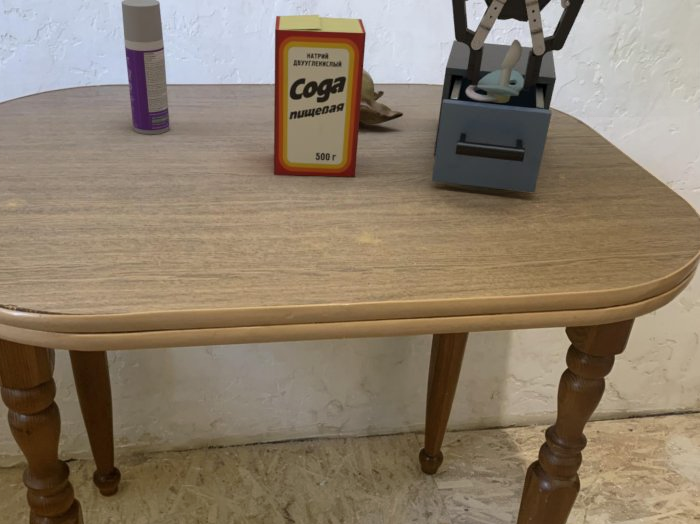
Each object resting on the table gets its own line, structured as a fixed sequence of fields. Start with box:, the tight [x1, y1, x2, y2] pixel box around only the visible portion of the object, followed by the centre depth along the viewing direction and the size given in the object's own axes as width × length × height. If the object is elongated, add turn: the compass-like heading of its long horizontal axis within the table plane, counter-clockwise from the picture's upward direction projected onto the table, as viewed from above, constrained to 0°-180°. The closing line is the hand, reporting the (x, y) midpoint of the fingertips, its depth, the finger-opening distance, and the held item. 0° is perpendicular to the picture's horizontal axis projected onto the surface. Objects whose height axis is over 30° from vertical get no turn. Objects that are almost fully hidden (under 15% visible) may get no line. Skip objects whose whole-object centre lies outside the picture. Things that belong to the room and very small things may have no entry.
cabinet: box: [433, 39, 557, 157], centre depth 98 cm, size 14×13×11 cm
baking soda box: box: [273, 14, 367, 178], centre depth 88 cm, size 10×6×16 cm
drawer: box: [431, 75, 553, 194], centre depth 87 cm, size 17×11×9 cm
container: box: [121, 0, 170, 135], centre depth 96 cm, size 5×5×15 cm
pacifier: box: [466, 39, 524, 103], centre depth 84 cm, size 7×6×6 cm
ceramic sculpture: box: [359, 68, 404, 125], centre depth 103 cm, size 11×9×15 cm
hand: (500, 85), depth 85 cm, fingers closed on pacifier, 5 cm apart
